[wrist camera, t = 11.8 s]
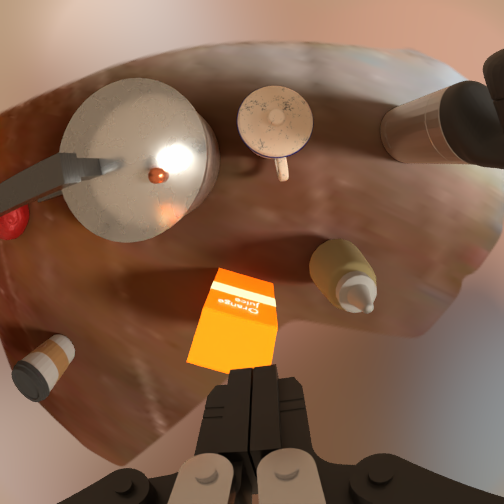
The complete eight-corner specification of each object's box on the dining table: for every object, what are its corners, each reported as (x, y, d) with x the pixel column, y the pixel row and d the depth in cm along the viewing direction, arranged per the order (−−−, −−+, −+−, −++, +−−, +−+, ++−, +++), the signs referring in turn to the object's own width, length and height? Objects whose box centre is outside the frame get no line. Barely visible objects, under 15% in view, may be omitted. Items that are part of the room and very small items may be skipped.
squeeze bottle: (364, 261, 46) (414, 308, 29) (325, 293, 48) (356, 355, 31) (335, 222, 45) (378, 253, 28) (294, 256, 47) (314, 306, 29)
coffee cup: (62, 323, 51) (21, 361, 37) (86, 356, 53) (51, 400, 38) (43, 336, 52) (3, 372, 38) (65, 366, 54) (31, 407, 40)
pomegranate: (42, 221, 46) (10, 231, 37) (16, 245, 47) (-15, 257, 38) (24, 175, 44) (-9, 179, 35) (-2, 203, 45) (-32, 210, 36)
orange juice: (218, 266, 47) (193, 330, 28) (273, 282, 48) (282, 354, 28) (207, 310, 49) (179, 388, 30) (258, 325, 50) (257, 408, 30)
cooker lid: (191, 60, 28) (169, 27, 19) (225, 220, 33) (212, 238, 24) (17, 136, 30) (-28, 134, 21) (44, 263, 35) (1, 286, 26)
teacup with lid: (236, 106, 41) (228, 85, 30) (297, 97, 40) (309, 73, 29) (250, 185, 44) (246, 189, 33) (311, 175, 43) (329, 177, 32)
